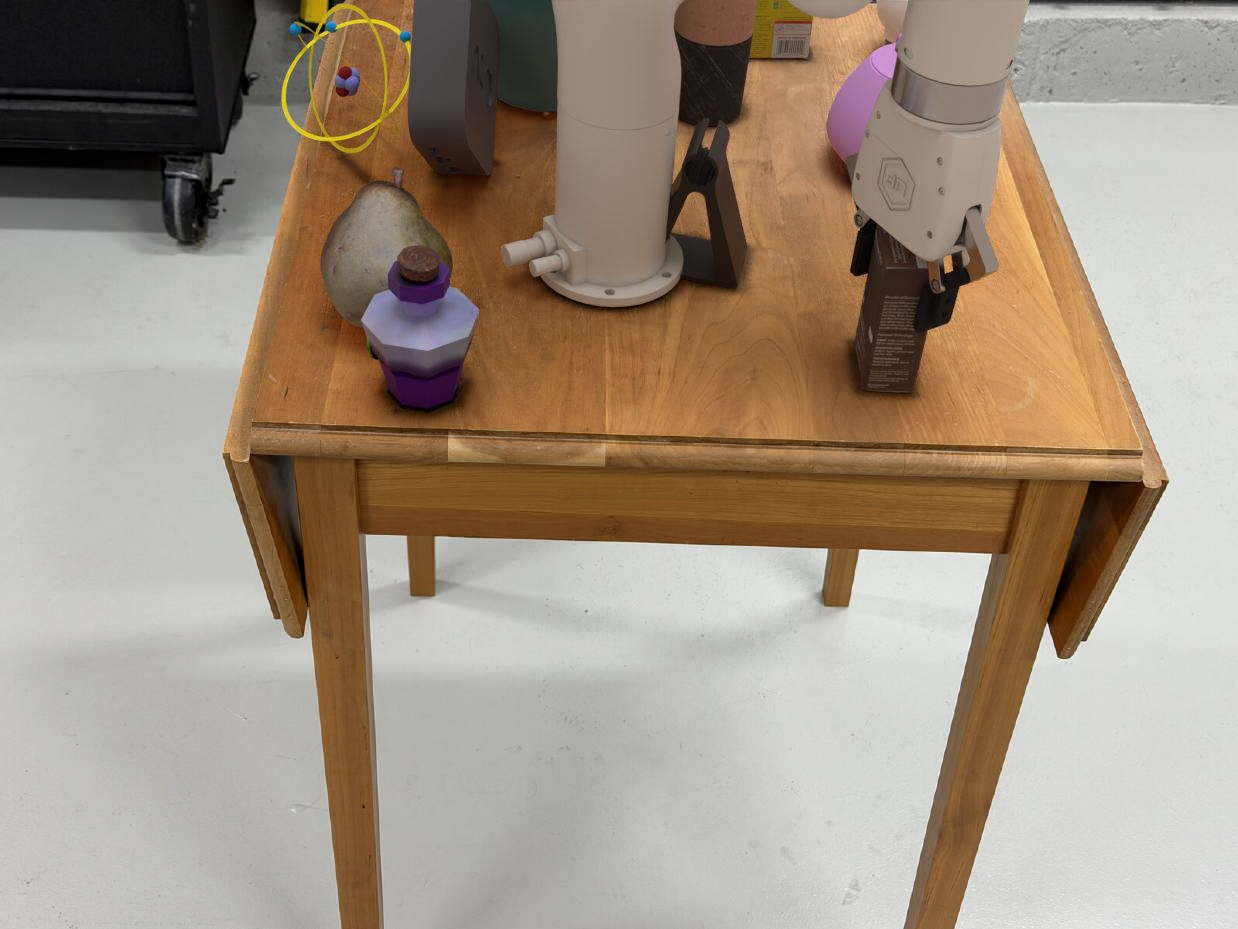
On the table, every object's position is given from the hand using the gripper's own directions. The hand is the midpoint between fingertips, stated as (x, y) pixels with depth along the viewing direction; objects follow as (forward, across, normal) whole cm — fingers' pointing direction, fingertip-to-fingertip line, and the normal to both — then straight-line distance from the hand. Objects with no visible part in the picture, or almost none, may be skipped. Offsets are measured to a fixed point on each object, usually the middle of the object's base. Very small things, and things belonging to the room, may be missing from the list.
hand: (899, 296), depth 106 cm
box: (+7, 0, 0) cm, 7 cm away
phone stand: (+7, -19, -6) cm, 21 cm away
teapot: (+7, -23, +19) cm, 31 cm away
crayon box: (+7, -48, +22) cm, 53 cm away
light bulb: (+7, -42, +34) cm, 55 cm away
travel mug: (+7, -41, +9) cm, 43 cm away
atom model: (-6, -49, -23) cm, 55 cm away
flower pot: (+7, -51, -3) cm, 52 cm away
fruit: (+7, -23, -32) cm, 40 cm away
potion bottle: (+7, -14, -33) cm, 37 cm away
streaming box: (-2, -43, -20) cm, 47 cm away
